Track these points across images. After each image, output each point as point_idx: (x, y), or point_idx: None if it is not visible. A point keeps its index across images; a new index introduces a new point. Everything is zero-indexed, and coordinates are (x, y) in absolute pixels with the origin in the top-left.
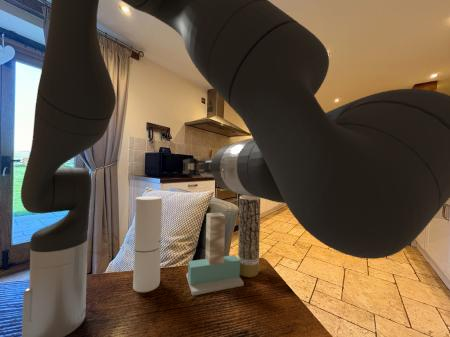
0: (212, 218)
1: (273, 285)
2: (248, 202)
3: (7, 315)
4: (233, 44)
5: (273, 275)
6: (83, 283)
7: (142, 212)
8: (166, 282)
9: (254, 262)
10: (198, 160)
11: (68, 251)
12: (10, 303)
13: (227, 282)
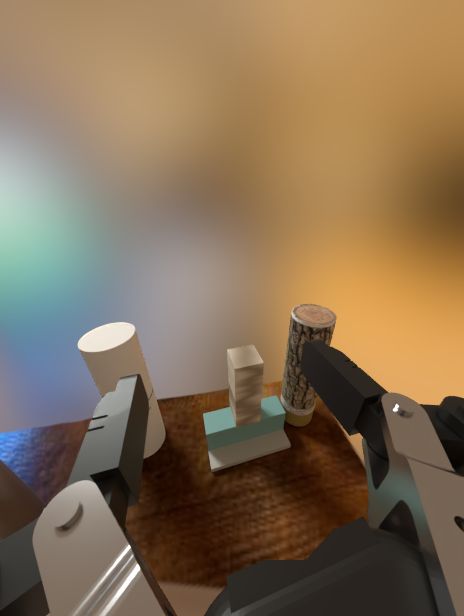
0: (238, 370)
1: (338, 448)
2: (311, 332)
3: None
4: None
5: (335, 421)
6: (10, 517)
7: (96, 372)
8: (175, 434)
9: (308, 411)
10: (50, 612)
11: None
12: None
13: (265, 444)
